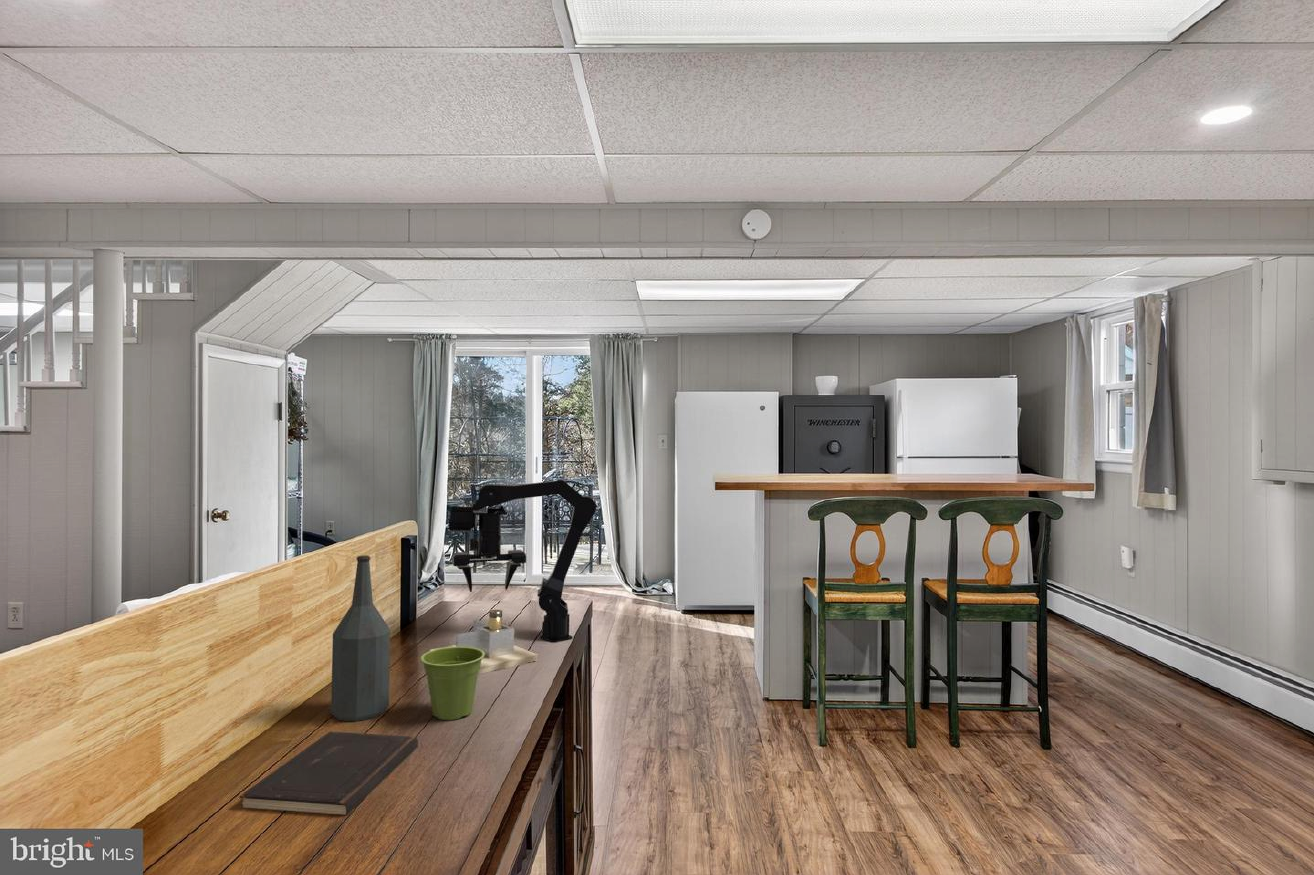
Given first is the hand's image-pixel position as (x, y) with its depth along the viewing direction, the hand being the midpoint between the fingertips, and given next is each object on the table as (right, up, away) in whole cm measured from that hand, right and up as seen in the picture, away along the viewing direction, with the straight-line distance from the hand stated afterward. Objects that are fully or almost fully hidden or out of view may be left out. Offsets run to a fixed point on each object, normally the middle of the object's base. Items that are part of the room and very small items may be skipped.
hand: (488, 590), depth 190 cm
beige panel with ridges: (+3, -13, -17) cm, 21 cm away
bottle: (-12, -12, -52) cm, 55 cm away
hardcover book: (-5, -13, -78) cm, 79 cm away
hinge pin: (+5, -11, -17) cm, 21 cm away
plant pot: (+5, -13, -52) cm, 54 cm away
